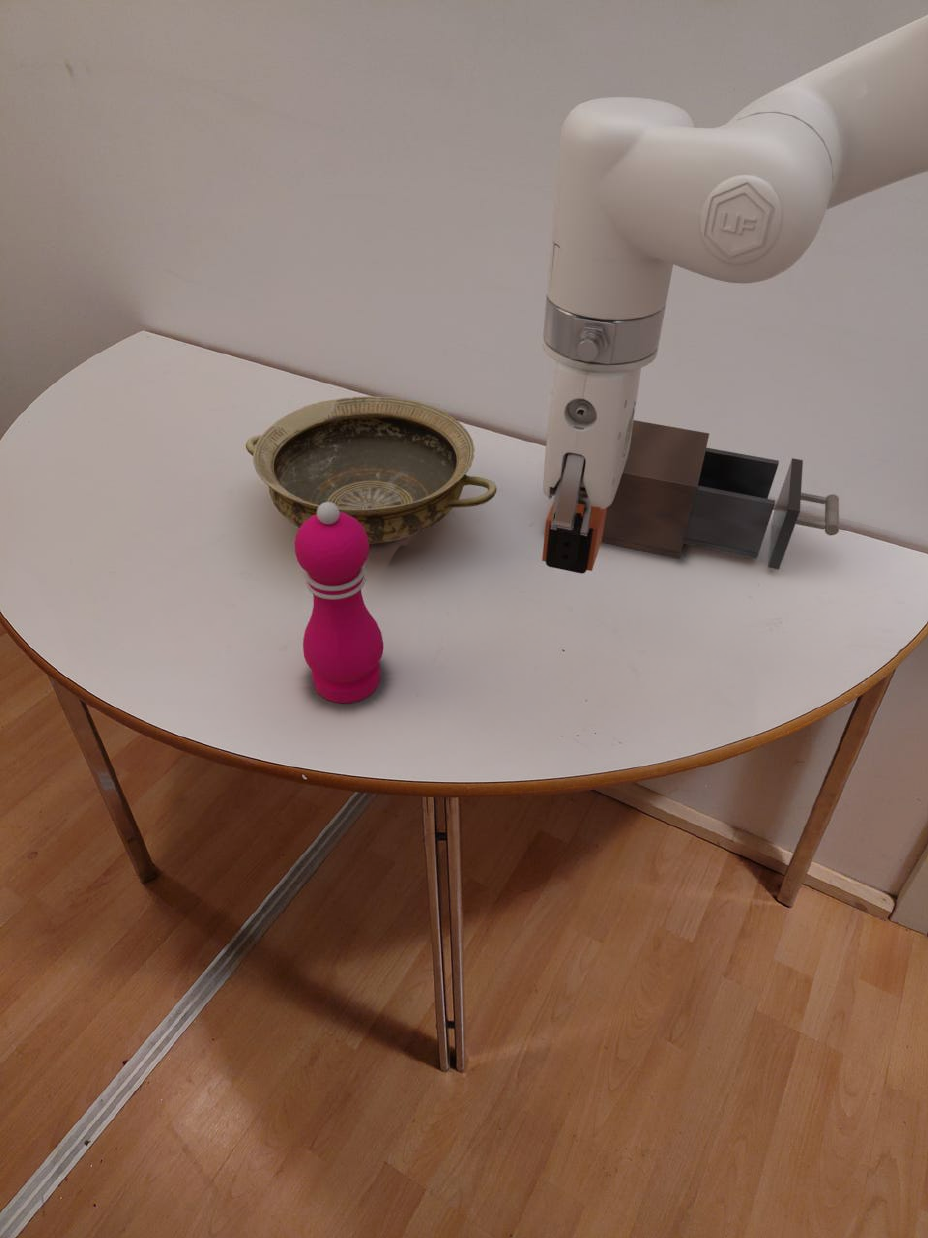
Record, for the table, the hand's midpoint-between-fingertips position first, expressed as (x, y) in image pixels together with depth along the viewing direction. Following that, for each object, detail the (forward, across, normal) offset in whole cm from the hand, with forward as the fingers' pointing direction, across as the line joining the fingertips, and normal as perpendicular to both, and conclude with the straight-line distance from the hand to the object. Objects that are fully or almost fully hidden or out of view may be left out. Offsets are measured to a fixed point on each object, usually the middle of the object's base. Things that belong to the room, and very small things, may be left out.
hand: (572, 548), depth 65 cm
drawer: (+16, +30, -15) cm, 37 cm away
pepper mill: (+17, -5, +19) cm, 26 cm away
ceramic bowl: (+17, +19, +27) cm, 37 cm away
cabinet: (+17, +30, -2) cm, 35 cm away
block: (0, 0, 0) cm, 0 cm away
